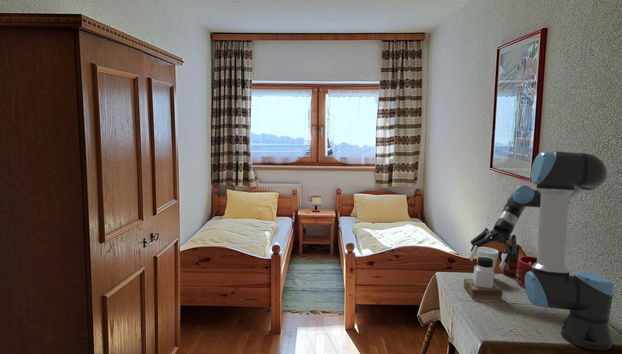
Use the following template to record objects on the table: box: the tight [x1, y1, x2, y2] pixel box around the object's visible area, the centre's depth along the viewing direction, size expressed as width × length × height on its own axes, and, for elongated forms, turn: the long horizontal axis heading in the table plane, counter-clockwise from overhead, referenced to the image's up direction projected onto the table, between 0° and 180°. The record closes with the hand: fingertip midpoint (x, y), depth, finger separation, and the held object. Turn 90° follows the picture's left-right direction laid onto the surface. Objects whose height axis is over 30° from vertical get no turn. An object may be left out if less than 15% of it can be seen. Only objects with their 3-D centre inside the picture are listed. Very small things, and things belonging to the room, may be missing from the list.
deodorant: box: [502, 242, 520, 278], centre depth 215 cm, size 6×6×15 cm
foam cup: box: [476, 246, 499, 272], centre depth 211 cm, size 10×9×13 cm
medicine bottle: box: [472, 256, 496, 288], centre depth 190 cm, size 7×7×12 cm
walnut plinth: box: [463, 278, 503, 301], centre depth 191 cm, size 12×12×4 cm
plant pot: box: [516, 255, 537, 288], centre depth 202 cm, size 13×13×12 cm
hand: (485, 263), depth 190 cm, fingers open, 13 cm apart
